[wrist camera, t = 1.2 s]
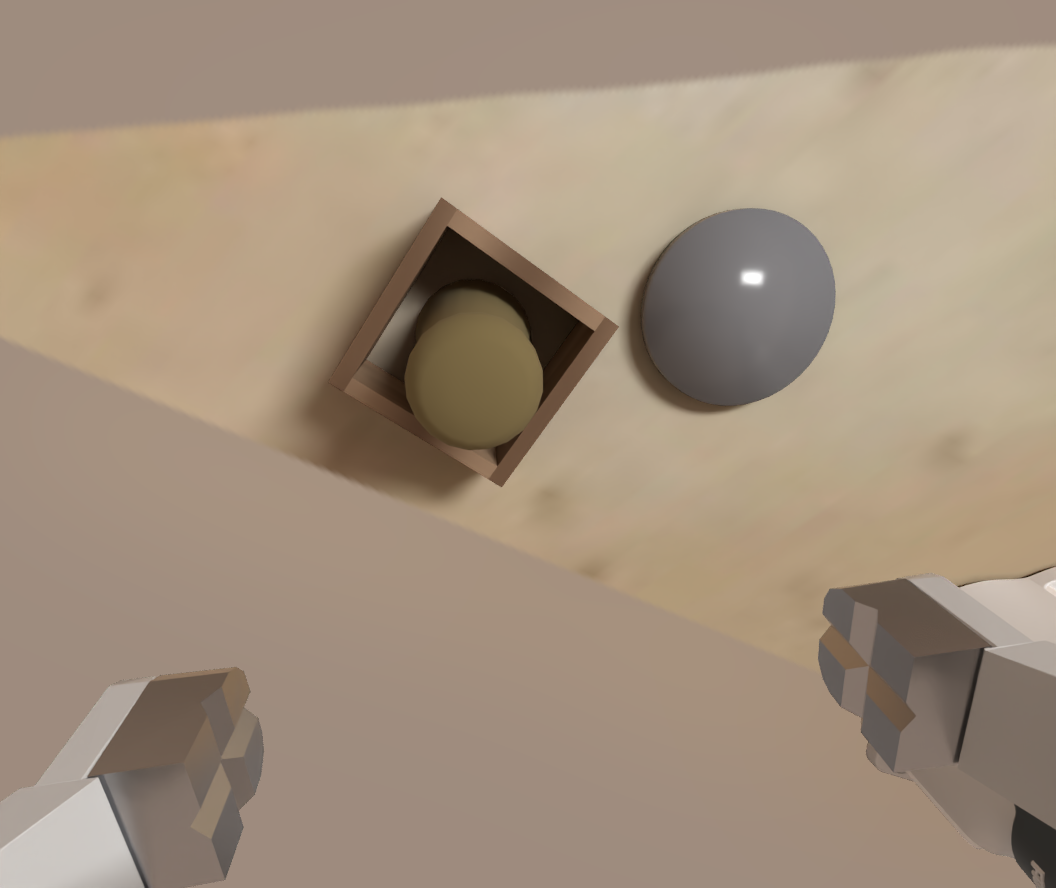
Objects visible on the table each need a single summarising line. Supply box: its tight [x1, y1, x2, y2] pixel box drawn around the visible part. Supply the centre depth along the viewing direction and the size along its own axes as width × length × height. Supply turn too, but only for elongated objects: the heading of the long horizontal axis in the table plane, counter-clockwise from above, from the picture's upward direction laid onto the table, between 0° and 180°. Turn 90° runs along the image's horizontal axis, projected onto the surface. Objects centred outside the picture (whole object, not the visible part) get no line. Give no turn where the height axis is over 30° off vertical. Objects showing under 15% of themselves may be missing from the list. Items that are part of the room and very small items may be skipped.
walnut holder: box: [328, 198, 619, 487], centre depth 30 cm, size 10×10×4 cm
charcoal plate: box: [641, 208, 835, 406], centre depth 32 cm, size 10×10×1 cm
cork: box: [404, 279, 543, 450], centre depth 27 cm, size 6×6×11 cm
